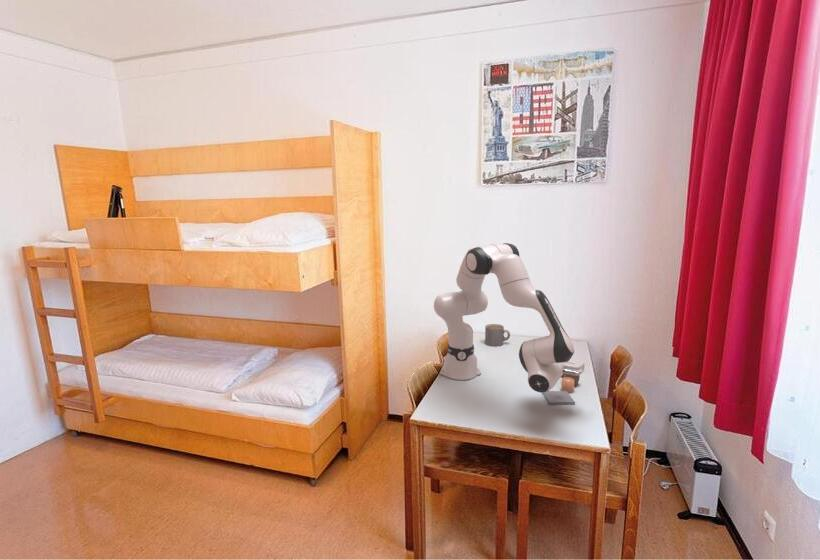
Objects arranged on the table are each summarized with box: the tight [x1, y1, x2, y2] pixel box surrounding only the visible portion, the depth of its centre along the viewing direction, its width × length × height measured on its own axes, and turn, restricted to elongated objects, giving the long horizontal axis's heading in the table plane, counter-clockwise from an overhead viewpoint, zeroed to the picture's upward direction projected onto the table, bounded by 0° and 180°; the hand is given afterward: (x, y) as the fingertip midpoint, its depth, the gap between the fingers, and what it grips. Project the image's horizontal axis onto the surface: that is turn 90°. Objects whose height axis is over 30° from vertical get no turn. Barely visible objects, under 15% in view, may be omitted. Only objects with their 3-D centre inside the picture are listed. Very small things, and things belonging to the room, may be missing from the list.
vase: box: [565, 374, 581, 387], centre depth 186 cm, size 7×7×9 cm
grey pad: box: [541, 390, 576, 406], centre depth 173 cm, size 10×10×1 cm
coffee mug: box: [484, 323, 511, 348], centre depth 238 cm, size 13×10×10 cm
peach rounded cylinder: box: [560, 377, 575, 394], centre depth 180 cm, size 5×5×5 cm
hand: (560, 357), depth 170 cm, fingers closed on walnut block, 4 cm apart
